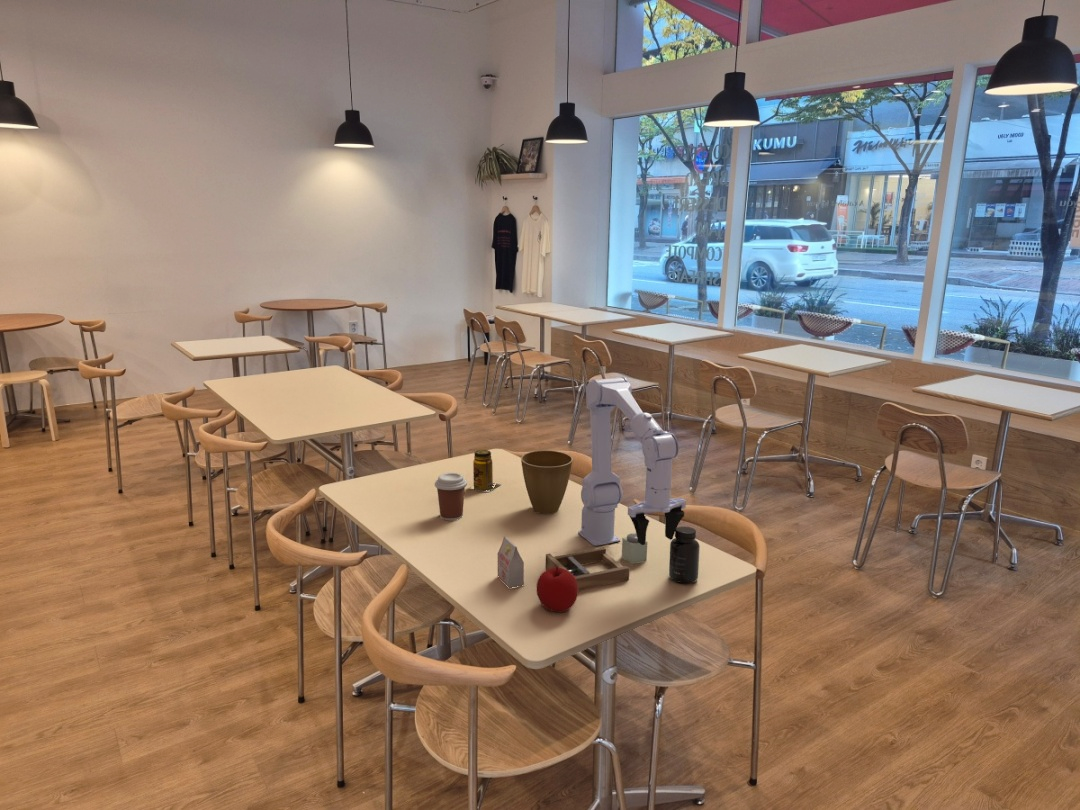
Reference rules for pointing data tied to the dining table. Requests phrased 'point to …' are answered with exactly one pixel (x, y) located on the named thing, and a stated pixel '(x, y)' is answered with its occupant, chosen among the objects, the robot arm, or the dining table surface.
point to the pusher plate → (575, 567)
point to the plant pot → (546, 478)
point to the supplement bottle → (684, 556)
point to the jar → (633, 549)
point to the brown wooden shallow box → (596, 578)
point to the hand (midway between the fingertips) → (655, 540)
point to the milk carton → (510, 564)
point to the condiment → (483, 471)
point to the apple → (557, 589)
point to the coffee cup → (451, 495)
